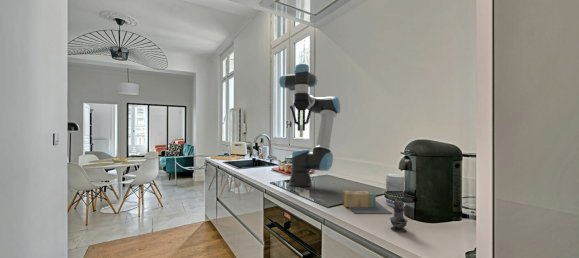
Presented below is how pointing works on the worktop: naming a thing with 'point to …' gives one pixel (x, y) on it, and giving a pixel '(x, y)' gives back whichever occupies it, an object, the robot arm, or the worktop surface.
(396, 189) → the supplement tub
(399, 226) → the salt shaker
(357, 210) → the mat
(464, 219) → the worktop surface
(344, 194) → the tall block
